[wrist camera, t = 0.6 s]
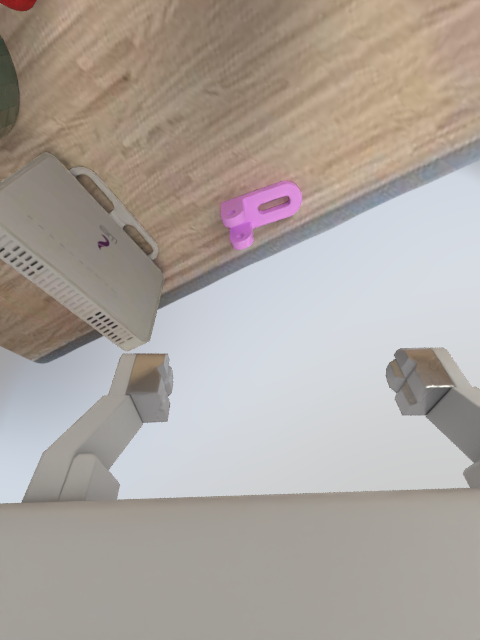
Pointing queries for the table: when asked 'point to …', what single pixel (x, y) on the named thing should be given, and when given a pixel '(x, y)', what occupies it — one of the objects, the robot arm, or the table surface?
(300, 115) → the table surface
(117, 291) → the network device
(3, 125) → the bowl
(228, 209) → the bracket
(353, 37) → the table surface
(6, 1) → the strawberry
